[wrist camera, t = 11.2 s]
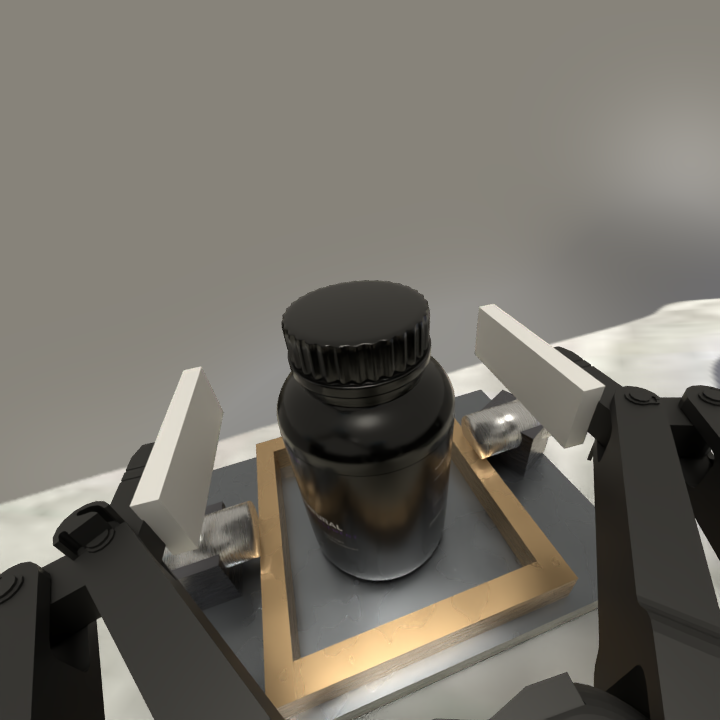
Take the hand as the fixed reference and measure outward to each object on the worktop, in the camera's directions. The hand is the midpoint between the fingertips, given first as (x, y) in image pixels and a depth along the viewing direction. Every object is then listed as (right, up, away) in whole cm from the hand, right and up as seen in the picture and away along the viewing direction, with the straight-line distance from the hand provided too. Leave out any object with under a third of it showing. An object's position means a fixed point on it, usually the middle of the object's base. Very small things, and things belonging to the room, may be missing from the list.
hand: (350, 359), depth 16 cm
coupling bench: (+2, -9, +2) cm, 10 cm away
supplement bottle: (+2, -8, +2) cm, 9 cm away
